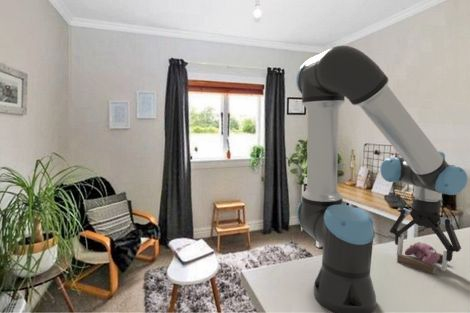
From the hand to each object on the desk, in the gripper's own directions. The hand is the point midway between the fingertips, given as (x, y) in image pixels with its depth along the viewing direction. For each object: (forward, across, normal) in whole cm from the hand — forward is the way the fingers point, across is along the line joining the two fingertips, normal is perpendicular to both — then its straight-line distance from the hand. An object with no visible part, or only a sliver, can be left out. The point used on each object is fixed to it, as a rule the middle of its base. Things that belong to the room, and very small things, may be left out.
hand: (420, 261), depth 94 cm
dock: (0, 0, 0) cm, 0 cm away
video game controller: (0, 0, 0) cm, 1 cm away
